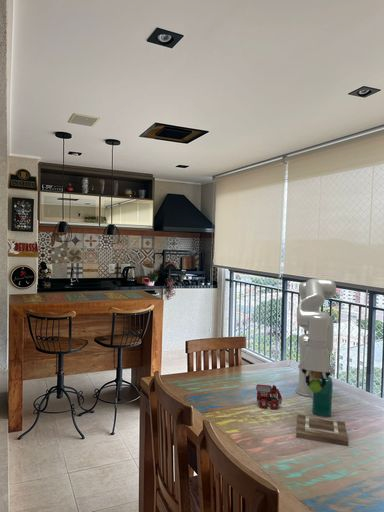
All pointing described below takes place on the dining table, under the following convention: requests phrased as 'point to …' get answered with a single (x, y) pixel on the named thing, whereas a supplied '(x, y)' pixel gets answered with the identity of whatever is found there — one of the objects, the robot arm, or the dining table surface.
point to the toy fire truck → (268, 396)
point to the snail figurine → (315, 381)
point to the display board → (321, 430)
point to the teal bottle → (323, 399)
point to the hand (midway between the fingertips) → (315, 385)
